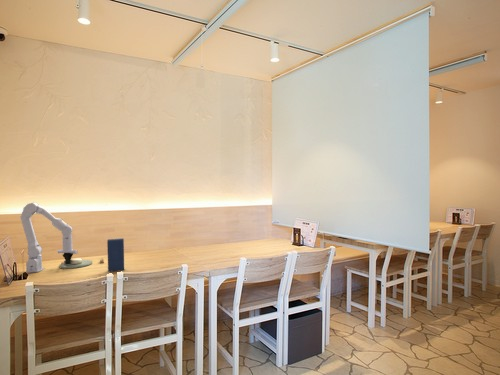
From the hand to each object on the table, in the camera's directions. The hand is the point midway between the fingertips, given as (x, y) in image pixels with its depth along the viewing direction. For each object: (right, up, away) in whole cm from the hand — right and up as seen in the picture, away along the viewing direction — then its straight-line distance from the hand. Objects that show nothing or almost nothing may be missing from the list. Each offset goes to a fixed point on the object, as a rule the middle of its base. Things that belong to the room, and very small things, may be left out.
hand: (68, 264), depth 214 cm
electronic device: (+37, -2, -10) cm, 38 cm away
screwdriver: (+17, -2, +14) cm, 21 cm away
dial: (+1, -1, +4) cm, 4 cm away
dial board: (+3, -2, +5) cm, 6 cm away
